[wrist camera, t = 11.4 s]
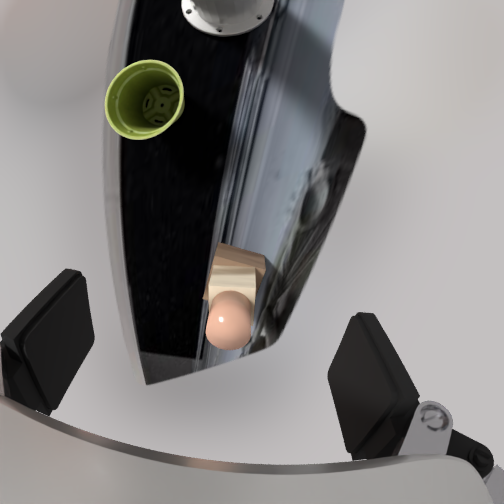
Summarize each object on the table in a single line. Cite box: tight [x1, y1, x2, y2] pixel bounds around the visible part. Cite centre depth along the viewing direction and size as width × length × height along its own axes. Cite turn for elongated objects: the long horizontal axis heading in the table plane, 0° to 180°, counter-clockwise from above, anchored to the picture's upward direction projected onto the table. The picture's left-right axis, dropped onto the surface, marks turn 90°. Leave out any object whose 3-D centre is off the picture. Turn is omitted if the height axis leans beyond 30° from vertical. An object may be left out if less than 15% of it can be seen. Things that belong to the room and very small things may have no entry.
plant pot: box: [105, 60, 184, 140], centre depth 31 cm, size 9×9×9 cm
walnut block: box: [203, 242, 266, 300], centre depth 42 cm, size 7×7×5 cm
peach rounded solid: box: [206, 290, 251, 350], centre depth 33 cm, size 5×5×5 cm
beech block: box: [209, 265, 256, 326], centre depth 38 cm, size 6×6×6 cm
